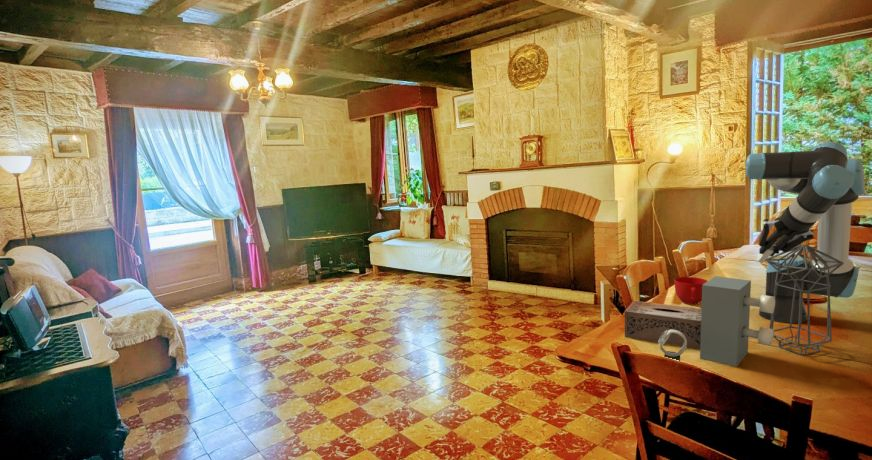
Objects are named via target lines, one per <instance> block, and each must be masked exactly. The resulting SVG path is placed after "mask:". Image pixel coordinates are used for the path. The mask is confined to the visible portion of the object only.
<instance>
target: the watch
mask: <svg viewBox="0 0 872 460" xmlns="http://www.w3.org/2000/svg"><path fill="white" fill-rule="evenodd" d="M671 333H677V334H679V335H680V336H682V337H683V338H684V340H685V342H684V344H683V346H681V348H680V349H679V350H678V352H677V351H670V350H668V351H667V350H665V349H664V348H663V345H664V344H665V342H666V341H667V340H668V338H669V336H670V334H671ZM657 343H658V346H659V347H658V348H659V349H660V351H661V352H662V353H663V354H664V357H668V358H672V359H676V360H679V361H680V362H681V355H683V354H684V352H685V351H686V348H688V347H687V340H686V337H685V336H684V334H683V333H681V332H680V331H678V330H673V329H671V330H668V331H667V330H666V331H665V332H664V333H663V334H662V335H661V337H660V339H659V341H658V342H657Z"/></svg>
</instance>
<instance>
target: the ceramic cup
mask: <svg viewBox="0 0 872 460" xmlns="http://www.w3.org/2000/svg"><path fill="white" fill-rule="evenodd" d="M708 281H709V280H707V279H704V278H702V277H701V278H700V277H695V276H692V277H691V276H679V277H676V278H674V290H675V293H676V296H677V297H678V299H679V300H680V301H681V302H682V304H685V305H693V306H695V305H699V304H700V303H702V285H703V284H705V283H706V282H708Z"/></svg>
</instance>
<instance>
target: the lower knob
mask: <svg viewBox="0 0 872 460" xmlns="http://www.w3.org/2000/svg"><path fill="white" fill-rule="evenodd" d="M773 330H774V328H773V329H770V328H769V327H765V326H760V327H759V329H758V330H757V329H750V328H749V329H746V328H742V336H747V337H748V338H752V339H757V341H758V344H762V345H766V346H772V344H773V342H774V341H773V340H774V337H773V335H775V334H774V331H773Z"/></svg>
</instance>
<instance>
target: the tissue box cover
mask: <svg viewBox="0 0 872 460" xmlns="http://www.w3.org/2000/svg"><path fill="white" fill-rule="evenodd" d="M701 310H702V307H701V308H700V307H691V306H690V307H689V306H683V305H682V306H681V305H672V304H663V303H655V302H647V301H638V300H633V301H632V302H631V303H630V304H629V305H628V307H627V308H626V309H625V310H624V338H628V337H630V338H629V339H635V340H641V341H647V342H654V343H658V341H659V339H660V337H661V335H662V334H663V333H664V332H665V331H666V330H667V331H668V330H671V329H673V330H678V331H680V332H681V333H683V334H684V336H685V337H686V340H687V347H686V348H691V349H698V350H700V342H701ZM684 342H685V340H684V338H683V337H682V336H680V335H679V334H677V333H671V334H670V336H669V338H668V340H667V341H666V342H665V343H664V344H667V345H672V346H678V347H682V346H683V344H684Z"/></svg>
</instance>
